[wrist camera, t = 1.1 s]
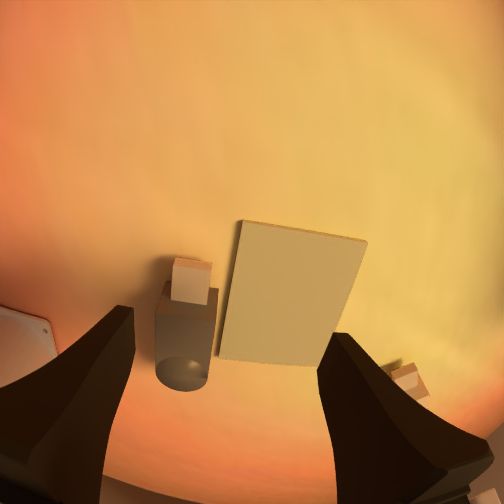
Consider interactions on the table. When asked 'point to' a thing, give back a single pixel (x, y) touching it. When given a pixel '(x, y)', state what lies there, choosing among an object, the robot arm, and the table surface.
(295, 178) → the table surface
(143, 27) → the table surface
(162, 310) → the tan-capped grey bottle
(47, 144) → the table surface
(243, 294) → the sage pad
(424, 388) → the ivory plug
